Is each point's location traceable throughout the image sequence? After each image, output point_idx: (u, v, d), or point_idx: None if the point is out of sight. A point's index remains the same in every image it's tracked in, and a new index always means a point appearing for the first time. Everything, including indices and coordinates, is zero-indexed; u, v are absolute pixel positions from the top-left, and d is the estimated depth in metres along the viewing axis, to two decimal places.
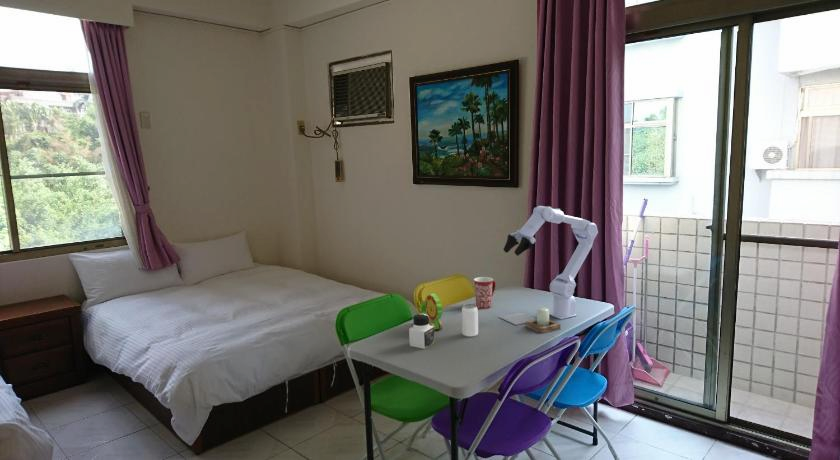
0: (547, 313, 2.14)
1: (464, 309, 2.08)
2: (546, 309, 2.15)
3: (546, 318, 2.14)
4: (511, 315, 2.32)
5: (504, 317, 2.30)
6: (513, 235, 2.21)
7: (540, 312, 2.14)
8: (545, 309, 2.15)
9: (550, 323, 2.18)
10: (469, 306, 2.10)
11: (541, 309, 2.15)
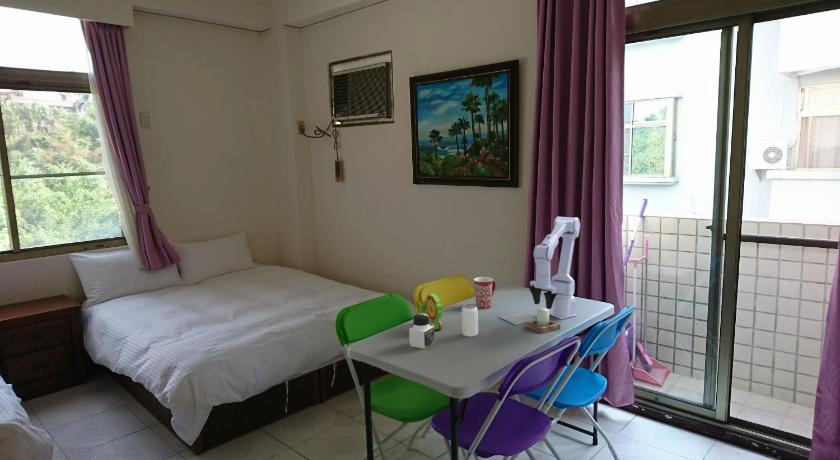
0: (547, 313, 2.14)
1: (464, 309, 2.08)
2: (546, 309, 2.15)
3: (546, 318, 2.14)
4: (511, 315, 2.32)
5: (504, 317, 2.30)
6: (533, 283, 2.19)
7: (540, 312, 2.14)
8: (545, 309, 2.15)
9: (550, 323, 2.18)
10: (469, 306, 2.10)
11: (541, 309, 2.15)
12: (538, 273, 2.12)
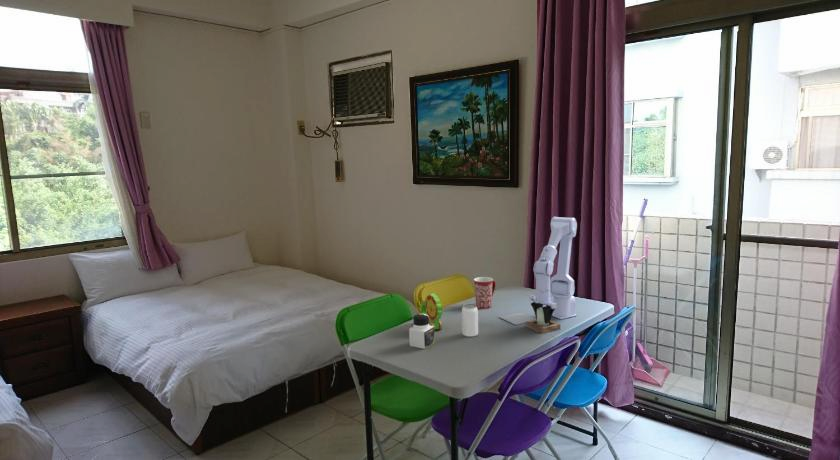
0: None
1: (464, 309, 2.08)
2: None
3: None
4: (511, 315, 2.32)
5: (504, 317, 2.30)
6: None
7: (540, 312, 2.14)
8: None
9: (550, 323, 2.18)
10: (469, 306, 2.10)
11: (541, 309, 2.15)
12: (538, 288, 2.13)
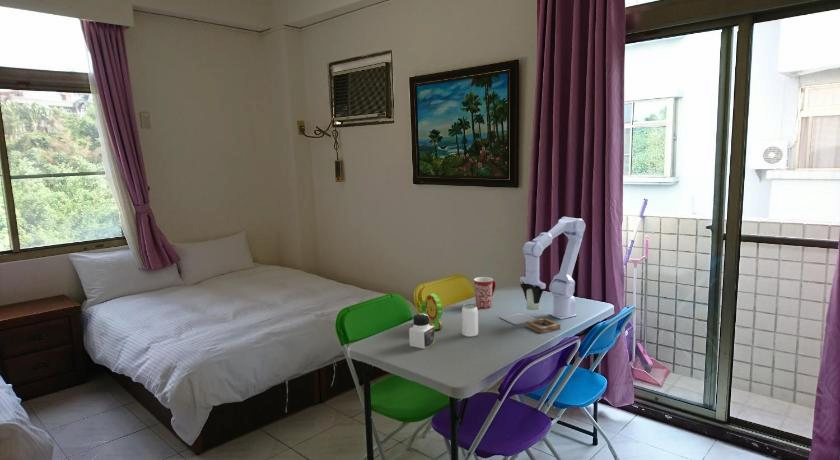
0: None
1: (464, 309, 2.08)
2: None
3: None
4: (511, 315, 2.32)
5: (504, 317, 2.30)
6: (522, 279, 2.24)
7: (529, 293, 2.18)
8: None
9: (550, 323, 2.18)
10: (469, 306, 2.10)
11: (531, 290, 2.19)
12: (526, 269, 2.17)
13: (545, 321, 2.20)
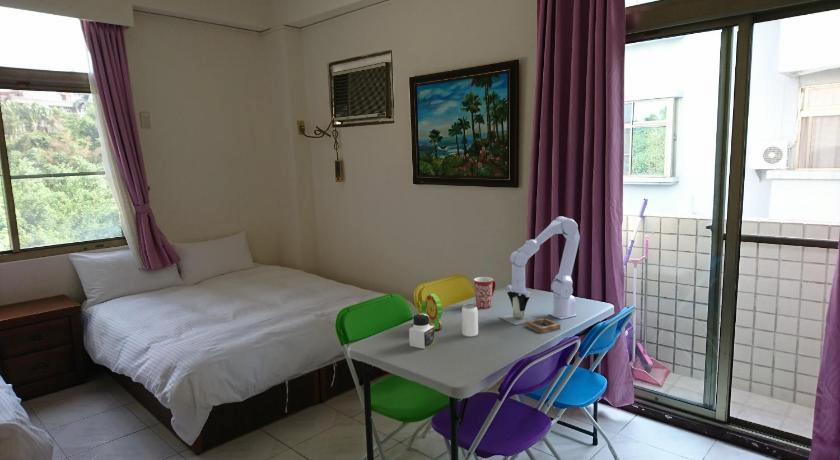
0: None
1: (464, 309, 2.08)
2: None
3: None
4: (511, 315, 2.32)
5: (504, 317, 2.30)
6: None
7: (515, 301, 2.25)
8: None
9: (550, 323, 2.18)
10: (469, 306, 2.10)
11: (517, 298, 2.27)
12: None
13: (545, 321, 2.20)
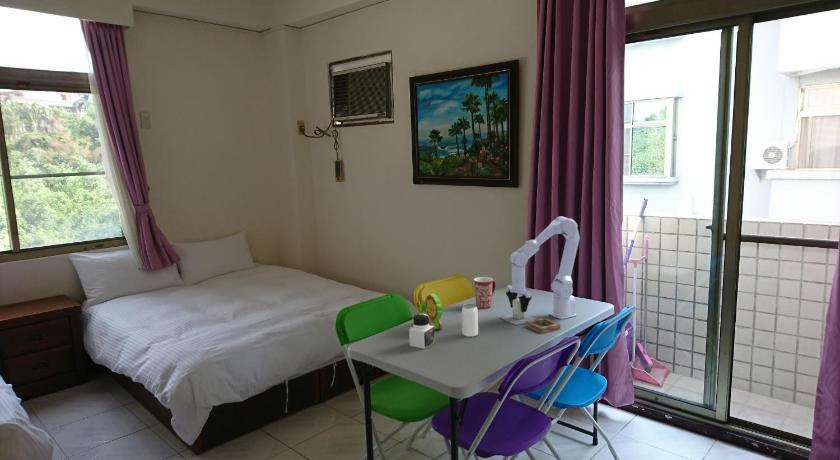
0: None
1: (464, 309, 2.08)
2: None
3: None
4: (511, 315, 2.32)
5: (504, 317, 2.30)
6: None
7: (515, 303, 2.25)
8: None
9: (550, 323, 2.18)
10: (469, 306, 2.10)
11: (516, 300, 2.27)
12: None
13: (545, 321, 2.20)
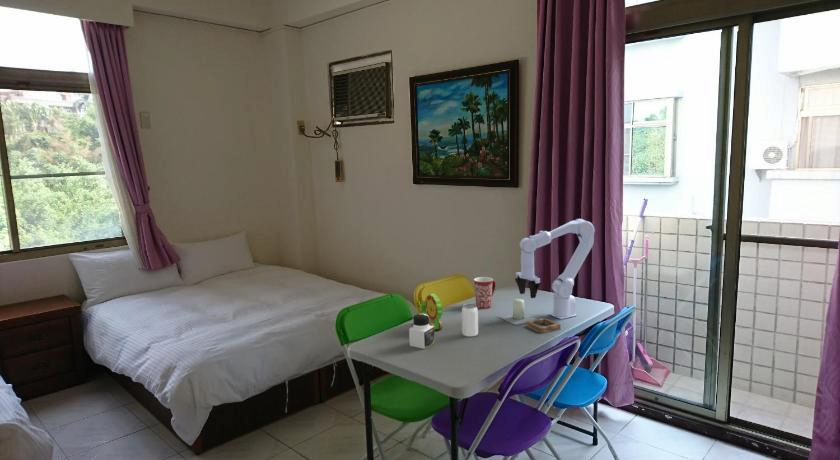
0: (522, 304, 2.25)
1: (464, 309, 2.08)
2: (522, 300, 2.27)
3: (521, 309, 2.25)
4: (511, 315, 2.32)
5: (504, 317, 2.30)
6: (518, 274, 2.33)
7: (515, 303, 2.25)
8: (521, 300, 2.27)
9: (550, 323, 2.18)
10: (469, 306, 2.10)
11: (517, 300, 2.27)
12: (521, 263, 2.27)
13: (545, 321, 2.20)
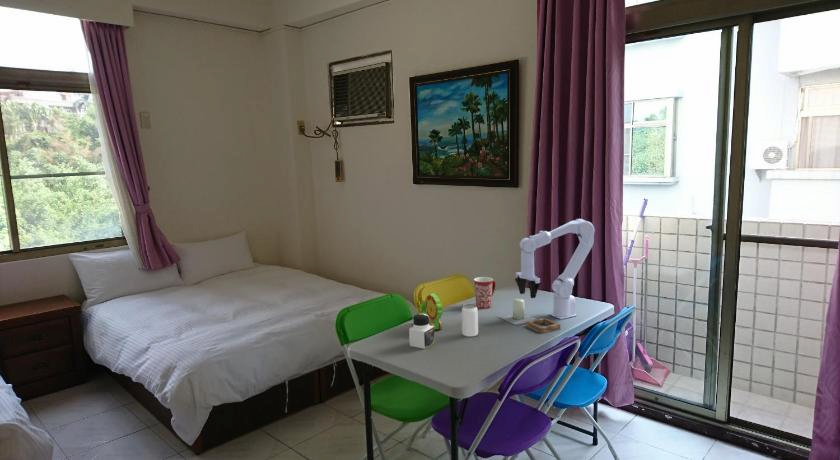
0: (522, 304, 2.25)
1: (464, 309, 2.08)
2: (522, 300, 2.27)
3: (521, 309, 2.25)
4: (511, 315, 2.32)
5: (504, 317, 2.30)
6: (518, 274, 2.33)
7: (516, 303, 2.25)
8: (521, 300, 2.27)
9: (550, 323, 2.18)
10: (469, 306, 2.10)
11: (517, 300, 2.27)
12: (521, 263, 2.27)
13: (545, 321, 2.20)
